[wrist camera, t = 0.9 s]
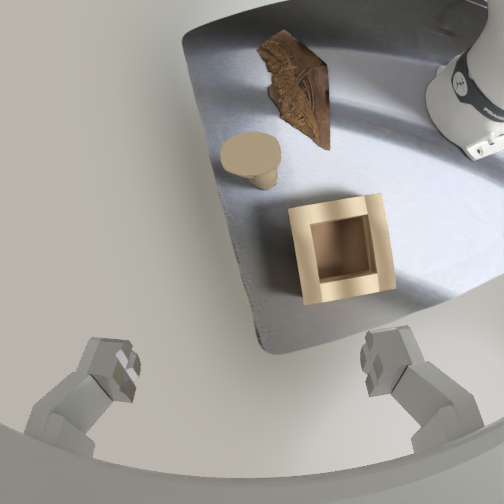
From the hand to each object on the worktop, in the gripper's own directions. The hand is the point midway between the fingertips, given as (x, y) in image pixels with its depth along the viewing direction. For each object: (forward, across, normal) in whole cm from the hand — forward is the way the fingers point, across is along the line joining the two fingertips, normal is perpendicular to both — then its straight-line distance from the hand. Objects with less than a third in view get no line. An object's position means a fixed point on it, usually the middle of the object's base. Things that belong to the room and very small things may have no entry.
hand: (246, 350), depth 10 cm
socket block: (+30, -12, +17) cm, 37 cm away
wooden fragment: (+46, -9, -5) cm, 47 cm away
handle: (+38, -2, +9) cm, 39 cm away
